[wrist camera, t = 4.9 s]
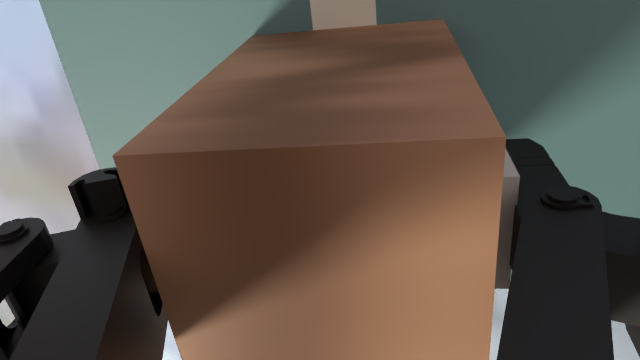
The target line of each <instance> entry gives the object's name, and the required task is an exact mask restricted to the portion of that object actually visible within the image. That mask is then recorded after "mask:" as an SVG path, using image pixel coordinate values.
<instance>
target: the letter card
mask: <svg viewBox="0 0 640 360" xmlns="http://www.w3.org/2000/svg"><path fill="white" fill-rule="evenodd" d="M39 2H40V4H41V7H42V10H43V13H44V16H45V18H46V21H47V24H48V27H49V29H50V32H51V35H52V38H53V40H54V43H55V46H56V49H57V52H58V54H59V57H60V60H61V63H62V65H63V68H64V71H65V74H66V77H67V79H68V82H69V85H70V88H71V90H72V93H73V96H74V99H75V102H76V104H77V107H78V110H79V113H80V115H81V118H82V121H83V124H84V126H85V129H86V132H87V135H88V138H89V140H90V143H91V146H92V149H93V151H94V154H95V157H96V160H97V163H98V165H99V168H100V170H101V169H105V168H114V167H116V165H115V162H114V159H113V155H114V154H115V153H116V152H117V151H118V150H120V149H121V148H122V147H123V146H124V145H125V144H127V143H128V142H129V141H130V140H131V139H132V138H134V137H135V136H136V135H137V134H138V133H139V132H141V131H142V130H143V129H144V128H145V127H146V126H148V125H149V124H150V123H151V122H152V121H153V120H155V119H156V118H157V117H158V116H159V115H160V114H162V113H163V112H164V111H165V110H166V109H167V108H169V107H170V106H171V105H172V104H173V103H174V102H176V101H177V100H178V99H179V98H180V97H181V96H183V95H184V94H185V93H186V92H187V91H188V90H190V89H191V88H192V87H193V86H194V85H195V84H197V83H198V82H199V81H200V80H201V79H202V78H204V77H205V76H206V75H207V74H208V73H209V72H211V71H212V70H213V69H214V68H215V67H216V66H218V65H219V64H220V63H221V62H222V61H223V60H225V59H226V58H227V57H228V56H229V55H230V54H232V53H233V52H234V51H235V50H236V49H237V48H239V47H240V46H241V45H242V44H243V43H244V42H246V41H247V40H248V39H249V38H250V37H251V36H255V35H266V34H278V33H289V32H301V31H312V30H323V29H335V28H346V27H357V26H369V25H380V24H392V23H403V22H414V21H426V20H437V19H444V21H445V23H446V25H447V27H448V29H449V31H450V32H451V34H452V36H453V38H454V40H455V42H456V44H457V46H458V47H459V49H460V51H461V53H462V55H463V57H464V59H465V61H466V62H467V64H468V66H469V68H470V70H471V72H472V74H473V75H474V77H475V79H476V81H477V83H478V85H479V87H480V89H481V90H482V92H483V94H484V96H485V98H486V100H487V102H488V104H489V105H490V107H491V109H492V111H493V113H494V115H495V117H496V119H497V120H498V122H499V124H500V126H501V128H502V130H503V132H504V134H505V135H506V139H523V138H529V139H531V140H533V141H535V142H536V143H538V144H540V145H542V146H543V147H544V148H545V150H546V151H547V153H548V154H549V156H550V158H551V159H552V160H553V162H554V163H555V166H557V168H558V169H559V171H560V172H561V174H562V175H563V177H564V178H565V180H566V181H567V183H568V184H569V186H573V187H578V188H580V189H583V190H585V191H588V192H590V193H591V194H593V195H594V196H595V197H597V198H598V199H599V201H600V203H601V205H602V211H603V212H607V213H610V214H615V215H620V216H627V217H634V218H640V0H39ZM511 274H512V269H511ZM510 277H511V275H510Z"/></svg>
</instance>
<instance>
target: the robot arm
mask: <svg viewBox="0 0 640 360" xmlns="http://www.w3.org/2000/svg"><path fill="white" fill-rule="evenodd" d="M68 188H69V191H70V193H71V196H72V198H73V201H74V203H75V206H76V208H77V211H78V213H79V216H80V218H81V220H80V222H79V224H78V226H77V228H76V229H75V230H70V231H65V232H60V233H56V234H51V235H50V234H49V231H48V229H47V227H46V225H45V222H44V221H43V220H41V219H39V218H24V219H15V220H12V222H11V221H8V222H5V223H3V224H2V225H1V226H0V303H1V302H2V301H3V300H4V298H5V300H6V302H7V304H8V306H9V307H10V309H11V311H12V313H13V315H14V317H15V319H14V320H13V322H12V323H11V324H10V325H8V326H7V327H6V326H5V325H4V324H3V323H2V321H1V320H0V360H162V357H163V350H164V343H165V336H166V329H167V322H168V317H167V314H166V311H165V309H164V306H163V303H162V300H161V297H160V294H159V291H158V288H157V285H156V282H155V279H154V276H153V273H152V271H151V268H150V265H149V262H148V259H147V256H146V253H145V250H144V247H143V244H142V241H141V238H140V235H139V233H138V230H137V227H136V224H135V221H134V218H133V215H132V212H131V209H130V206H129V203H128V200H127V197H126V194H125V192H124V189H123V186H122V183H121V180H120V177H119V174H118V171H117V168H116V167H114V168H105V169H101V170H97V171H93V172H90V173H88V174H85V175H83V176H81V177H79V178H78V179H76V180H74V181H73V182H72V183H71V184H70V185H69V186H68ZM511 269H512V274H511ZM510 275H511V280H510ZM495 289H509V292H508V298H507V304H506V309H505V315H504V321H503V327H502V333H501V338H500V344H499V350H498V356H497V360H614V354H613V341H612V329H611V320H613V321H617V322H622V323H625V326H626V330H627V332H628V334H629V336H630V338H631V340H632V342H633V344H634V346H635V348H636V351H637V353H638V355H639V357H640V218H634V217H627V216H620V215H615V214H610V213H607V212H603V211H602V205H601V203H600V201H599V199H598V198H597V197H595V196H594V195H593V194H591V193H590V192H588V191H585V190H583V189H580V188H578V187H573V186H569V184H568V183H567V181H566V180H565V178H564V177H563V175H562V174H561V172H560V171H559V169H558V168H557V166H555V163H554V162H553V160H552V159H551V158H550V156H549V154H548V153H547V151H546V150H545V148H544V147H543V146H542V145H540V144H538V143H536V142H535V141H533V140H531V139H529V138H523V139H506V147H505V160H504V172H503V185H502V198H501V211H500V224H499V237H498V250H497V263H496V276H495Z"/></svg>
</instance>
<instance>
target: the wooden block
mask: <svg viewBox="0 0 640 360" xmlns="http://www.w3.org/2000/svg"><path fill="white" fill-rule="evenodd" d="M505 147H506V135H505V134H504V132H503V130H502V128H501V126H500V124H499V122H498V120H497V119H496V117H495V115H494V113H493V111H492V109H491V107H490V105H489V104H488V102H487V100H486V98H485V96H484V94H483V92H482V90H481V89H480V87H479V85H478V83H477V81H476V79H475V77H474V75H473V74H472V72H471V70H470V68H469V66H468V64H467V62H466V61H465V59H464V57H463V55H462V53H461V51H460V49H459V47H458V46H457V44H456V42H455V40H454V38H453V36H452V34H451V32H450V31H449V29H448V27H447V25H446V23H445V21H444V19H437V20H426V21H414V22H403V23H392V24H380V25H369V26H357V27H346V28H335V29H323V30H312V31H301V32H289V33H278V34H266V35H255V36H251V37H250V38H249V39H248V40H247V41H246V42H244V43H243V44H242V45H241V46H240V47H239V48H237V49H236V50H235V51H234V52H233V53H232V54H230V55H229V56H228V57H227V58H226V59H225V60H223V61H222V62H221V63H220V64H219V65H218V66H216V67H215V68H214V69H213V70H212V71H211V72H209V73H208V74H207V75H206V76H205V77H204V78H202V79H201V80H200V81H199V82H198V83H197V84H195V85H194V86H193V87H192V88H191V89H190V90H188V91H187V92H186V93H185V94H184V95H183V96H181V97H180V98H179V99H178V100H177V101H176V102H174V103H173V104H172V105H171V106H170V107H169V108H167V109H166V110H165V111H164V112H163V113H162V114H160V115H159V116H158V117H157V118H156V119H155V120H153V121H152V122H151V123H150V124H149V125H148V126H146V127H145V128H144V129H143V130H142V131H141V132H139V133H138V134H137V135H136V136H135V137H134V138H132V139H131V140H130V141H129V142H128V143H127V144H125V145H124V146H123V147H122V148H121V149H120V150H118V151H117V152H116V153H115V154H114V155H113V159H114V162H115V165H116V168H117V171H118V174H119V177H120V180H121V183H122V186H123V189H124V192H125V194H126V197H127V200H128V203H129V206H130V209H131V212H132V215H133V218H134V221H135V224H136V227H137V230H138V233H139V235H140V238H141V241H142V244H143V247H144V250H145V253H146V256H147V259H148V262H149V265H150V268H151V271H152V273H153V276H154V279H155V282H156V285H157V288H158V291H159V294H160V297H161V300H162V303H163V306H164V309H165V311H166V314H167V317H168V320H169V323H170V326H171V329H172V332H173V335H174V338H175V341H176V344H177V347H178V350H179V352H180V355H181V358H182V360H489V353H490V340H491V327H492V314H493V302H494V289H495V276H496V263H497V250H498V237H499V224H500V211H501V198H502V185H503V172H504V160H505Z"/></svg>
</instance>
